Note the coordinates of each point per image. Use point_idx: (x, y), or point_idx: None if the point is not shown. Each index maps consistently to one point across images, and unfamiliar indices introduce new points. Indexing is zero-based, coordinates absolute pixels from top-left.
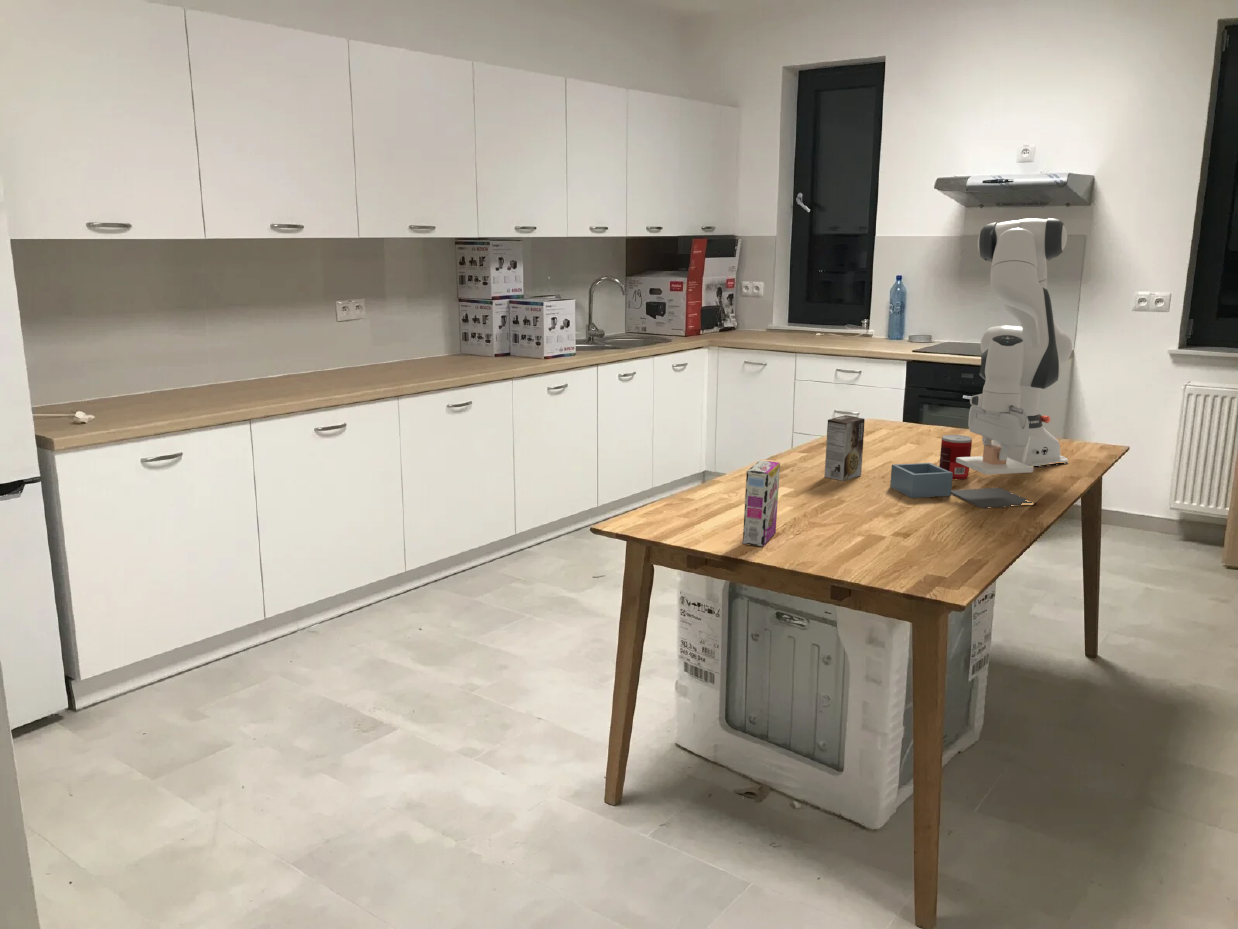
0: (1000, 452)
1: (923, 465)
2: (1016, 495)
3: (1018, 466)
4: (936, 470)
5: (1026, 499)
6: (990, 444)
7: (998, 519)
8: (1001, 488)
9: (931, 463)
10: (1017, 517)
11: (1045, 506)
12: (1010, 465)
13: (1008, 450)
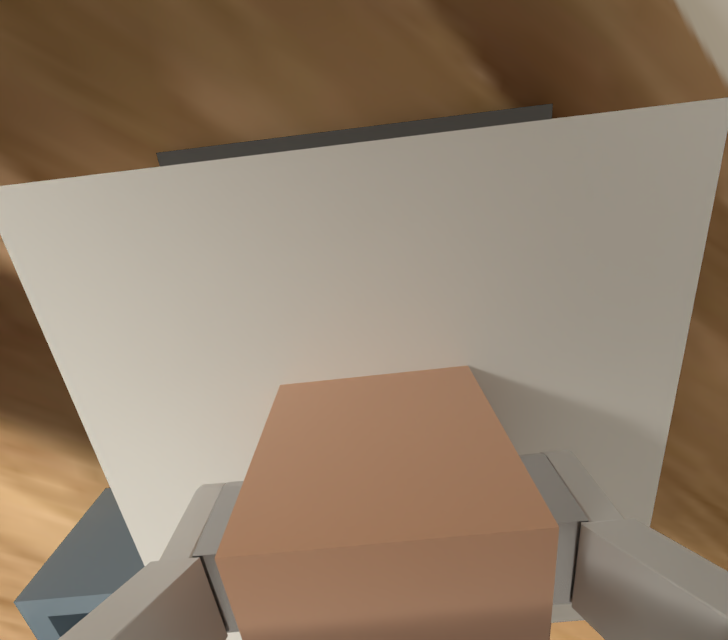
0: (608, 618)
1: (67, 628)
2: (357, 138)
3: (619, 286)
4: None
5: (458, 121)
6: (157, 628)
7: (697, 433)
8: (179, 151)
9: (36, 601)
10: (707, 340)
11: (583, 46)
12: (550, 355)
13: (712, 578)
